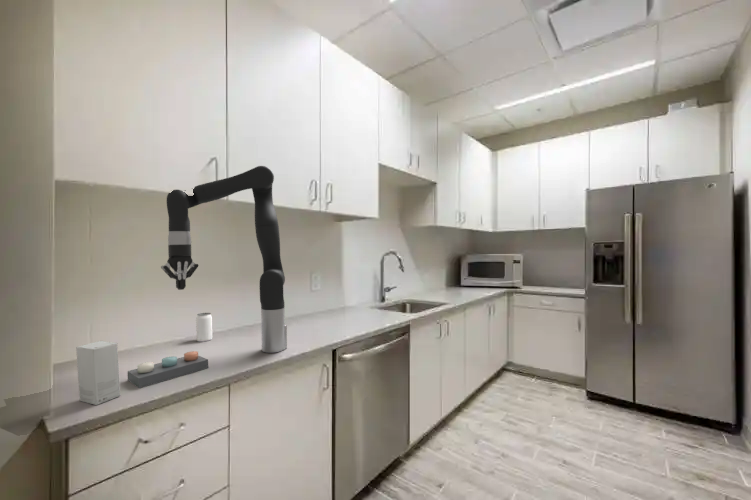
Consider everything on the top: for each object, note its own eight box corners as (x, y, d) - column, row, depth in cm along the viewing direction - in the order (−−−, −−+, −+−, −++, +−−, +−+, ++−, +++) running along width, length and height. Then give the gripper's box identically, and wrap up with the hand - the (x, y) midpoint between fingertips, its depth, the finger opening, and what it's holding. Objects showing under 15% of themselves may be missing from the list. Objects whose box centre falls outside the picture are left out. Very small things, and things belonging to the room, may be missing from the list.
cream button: (151, 367, 112) (150, 361, 112) (156, 370, 109) (156, 363, 109) (135, 371, 108) (135, 364, 108) (140, 374, 106) (140, 367, 106)
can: (195, 342, 151) (194, 315, 151) (198, 338, 157) (197, 313, 157) (210, 341, 153) (210, 314, 153) (213, 337, 159) (213, 312, 159)
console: (194, 362, 126) (194, 354, 126) (208, 367, 120) (208, 359, 120) (127, 380, 109) (127, 371, 109) (139, 388, 103) (138, 378, 103)
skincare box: (120, 396, 97) (119, 342, 97) (94, 406, 91) (92, 349, 91) (103, 391, 101) (102, 339, 100) (76, 401, 95) (75, 345, 94)
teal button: (173, 361, 117) (173, 355, 117) (179, 363, 115) (179, 358, 115) (159, 364, 114) (159, 359, 114) (165, 367, 111) (165, 361, 111)
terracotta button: (194, 356, 123) (194, 350, 123) (200, 358, 120) (200, 352, 120) (181, 359, 119) (181, 353, 119) (187, 361, 117) (187, 356, 117)
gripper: (193, 243, 135) (194, 286, 136) (156, 243, 125) (157, 290, 125) (202, 243, 131) (203, 288, 131) (164, 243, 120) (165, 292, 120)
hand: (180, 289), depth 128 cm, fingers closed
